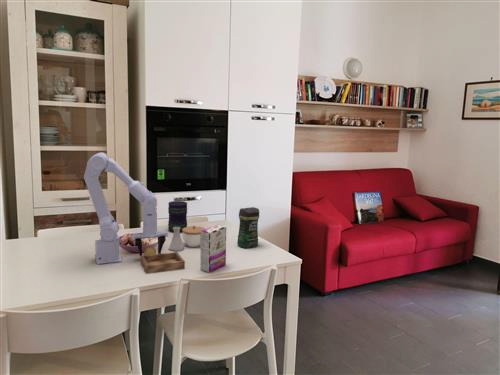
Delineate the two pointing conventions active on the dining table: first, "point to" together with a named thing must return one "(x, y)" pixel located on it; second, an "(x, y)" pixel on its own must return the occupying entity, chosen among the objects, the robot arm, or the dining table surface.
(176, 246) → the flask
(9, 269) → the dining table surface
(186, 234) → the lidded jar
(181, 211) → the storage jar
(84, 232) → the dining table surface
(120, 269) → the dining table surface
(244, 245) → the coffee jar
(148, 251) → the ball
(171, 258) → the tray
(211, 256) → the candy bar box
